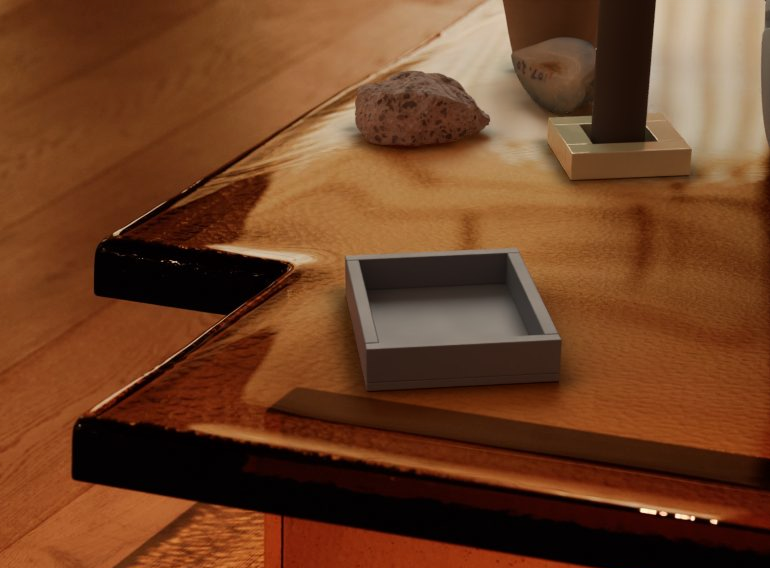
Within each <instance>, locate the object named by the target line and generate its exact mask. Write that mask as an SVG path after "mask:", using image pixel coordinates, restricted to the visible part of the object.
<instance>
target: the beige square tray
mask: <svg viewBox="0 0 770 568" xmlns="http://www.w3.org/2000/svg"><path fill="white" fill-rule="evenodd" d="M547 119H548V120H547V140H546V141H547V144H548V146H549V148H550V149H551V151H552V152H553V155H554V156H555V157H556V159H557V161H558V162H559V164H560V165H561V167H562V169H563V170H564V172H565V173H566V175H567V177H568V178H569V180H571V181H581V180H582V181H583V180H602V179H603V180H604V179H605V180H607V179H627V178H628V179H629V178H651V177H652V178H653V177H654V178H655V177H673V176H674V177H675V176H690V173H691V164H692V163H691V162H692V151H693V149H692V147H691V146H690V145H689V144H688V143H687V142H686V140H685V139H684V138H683V136H682V135H681V134H680V133H679V132H678V131H677V130H676V128H675V127H674V126H673V125H672V124H671V123H670V121H669V120H668V119H667V118H666V117H665V115H663V114H662V113H661V112H656V113H655V112H653V113H647V120H646V133H645V142H634V143H610V144H593V143H592V142H591V141H590V140H591V124H592V115H580V116H556V117H555V116H554V117H548V118H547Z"/></svg>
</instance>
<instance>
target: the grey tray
mask: <svg viewBox="0 0 770 568" xmlns="http://www.w3.org/2000/svg"><path fill="white" fill-rule="evenodd" d="M344 280H345V281H344V283H345V284H344V286H345V289H344V290H345V296H346V301H347V306H348V312H349V316H350V320H351V325H352V330H353V334H354V339H355V344H356V348H357V352H358V357H359V362H360V367H361V371H362V376H363V381H364V385H365V390H366V391H367V392H377V391H397V390H416V389H431V388H432V389H435V388H437V389H438V388H453V387H454V388H456V387H473V386H474V387H475V386H491V385H492V386H494V385H512V384H530V383H531V384H533V383H549V382H551V383H552V382H559V381H560V377H561V360H562V343H563V339H562V337H561V335H560V334H559V331H558V329H557V326H556V325H555V323H554V321H553V319H552V318H551V315H550V313H549V311H548V308H547V307H546V305H545V302H544V300H543V298H542V296H541V294H540V292H539V290H538V287H537V286H536V283H535V282H534V280H533V277H532V275H531V273H530V271H529V269H528V267H527V265H526V263H525V261H524V259H523V257H522V255H521V253H520V250H519V248H518V247H504V248H480V249H479V248H478V249H462V250H458V249H457V250H439V251H419V252H418V251H417V252H396V253H394V252H393V253H377V254H376V253H375V254H373V253H371V254H351V255H349V254H348V255H344Z"/></svg>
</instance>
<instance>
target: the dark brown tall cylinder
mask: <svg viewBox="0 0 770 568" xmlns="http://www.w3.org/2000/svg"><path fill="white" fill-rule="evenodd" d="M656 8H657V0H599V11H598V27H597V43H596V59H595V75H594V92H593V101H592V108H591V109H592V111H591V116H592V124H591V140H590V141H591V142H592V143H593V144H610V143H634V142H645V133H646V120H647V114H648V109H649V108H648V106H649V95H650V82H651V68H652V56H653V44H654V32H655V20H656Z"/></svg>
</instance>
